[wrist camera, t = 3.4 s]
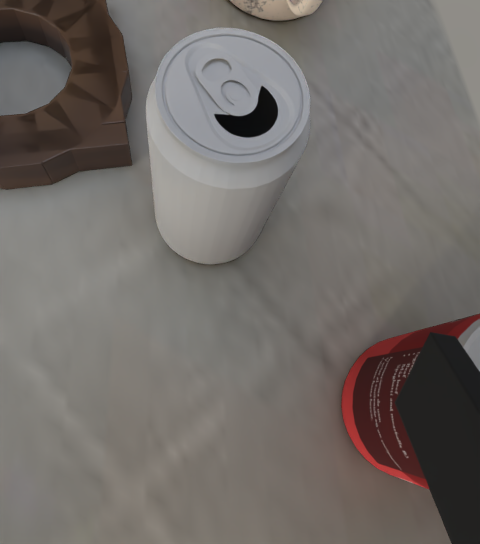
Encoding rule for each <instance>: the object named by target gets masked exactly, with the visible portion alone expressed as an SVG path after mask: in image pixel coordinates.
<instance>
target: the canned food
mask: <svg viewBox="0 0 480 544" xmlns="http://www.w3.org/2000/svg"><path fill="white" fill-rule="evenodd" d="M430 332H433V333H439V334H445V335H450V336H456V338H457V339H458V341H459V342H460V343H461V345H462V346H463V348H464V349H465V351H466V352H467V354H468V355H469V357H470V358H471V360H472V361H473V362H474V364H475V365H476V367H477V368H478V370H479V371H480V314H476V315H473V316H469V317H466V318H462V319H458V320H455V321H451V322H447V323H444V324H440V325H436V326H433V327H429V328H425V329H422V330H418V331H415V332H411V333H407V334H404V335H400V336H396V337H393V338H389V339H386V340H383V341H381V342H378V343H377V344H375V345H373V346H372V347H370V348H368V349H367V350H366V351H365V352H364V353H363V354H362V355H361V356H360V357H359V358H358V359H357V361H356V362H355V363H354V365H353V366H352V368H351V369H350V371H349V373H348V376H347V378H346V380H345V383H344V387H343V391H342V403H341V408H342V415H343V421H344V423H345V426H346V429H347V432H348V434H349V436H350V438H351V439H352V441H353V443H354V445H355V446H356V448H357V449H358V450H359V452H360V453H361V454H362V455H363V456H364V458H365V459H366V460H368V461H369V462H370V463H371V464H373V465H374V466H375V467H376V468H378V469H380V470H382V471H384V472H386V473H388V474H390V475H392V476H395V477H398V478H400V479H403V480H406V481H408V482H411V483H414V484H416V485H419V486H422V487H425V488H427V489H429V486H428V484H427V482H426V479H425V477H424V474H423V472H422V469H421V467H420V464H419V462H418V459H417V457H416V454H415V452H414V450H413V447H412V445H411V442H410V440H409V437H408V435H407V432H406V430H405V427H404V425H403V423H402V420H401V418H400V415H399V413H398V410H397V408H396V405H395V403H394V402H395V400H396V398H397V396H398V395H399V393H400V391H401V389H402V387H403V385H404V383H405V381H406V379H407V377H408V375H409V373H410V371H411V369H412V367H413V365H414V363H415V361H416V359H417V357H418V355H419V353H420V351H421V349H422V347H423V345H424V343H425V341H426V339H427V337H428V335H429V334H430Z"/></svg>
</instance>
